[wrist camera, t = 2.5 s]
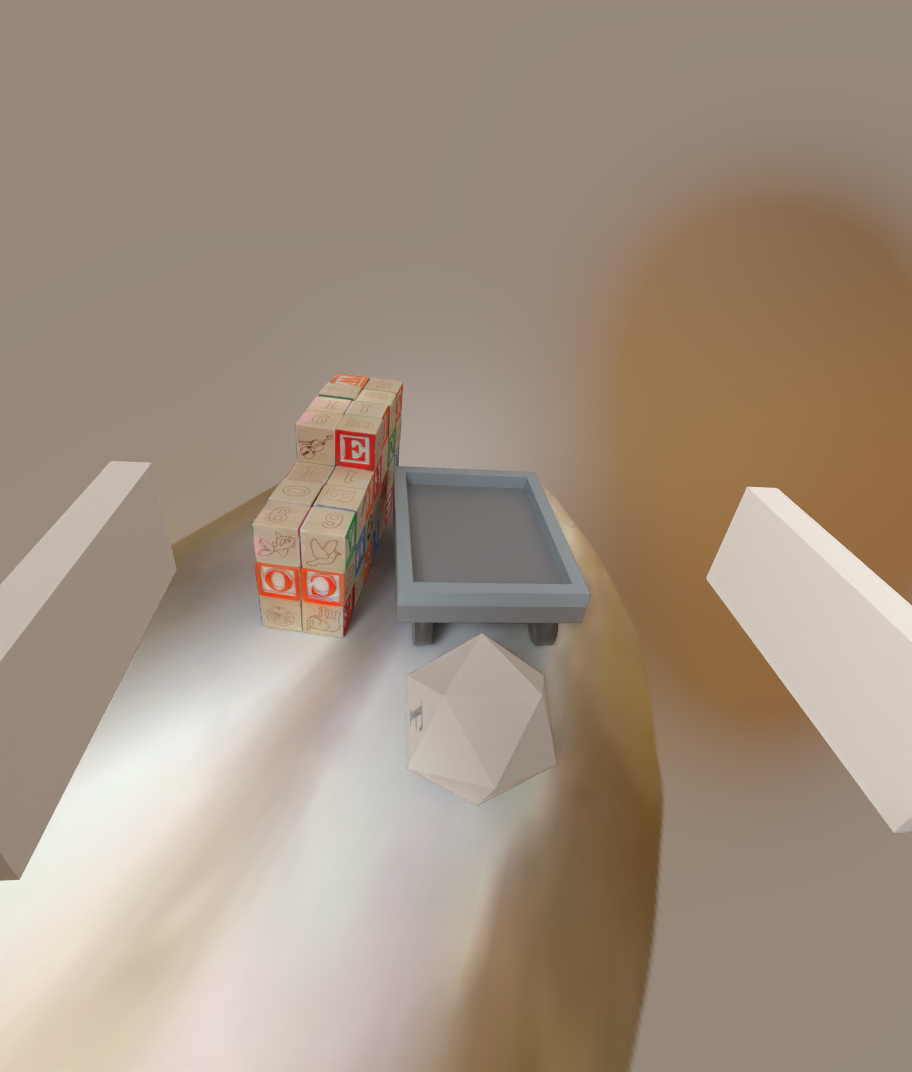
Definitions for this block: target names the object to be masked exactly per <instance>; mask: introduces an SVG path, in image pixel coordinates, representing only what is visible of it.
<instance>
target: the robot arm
mask: <svg viewBox="0 0 912 1072" xmlns="http://www.w3.org/2000/svg"><path fill="white" fill-rule="evenodd" d="M176 571H177V569H176V565H175V560H174V556H173V552H172V547H171V543H170V539H169V535H168V530H167V526H166V522H165V518H164V514H163V510H162V505H161V501H160V496H159V492H158V488H157V484H156V479H155V475H154V471H153V467H152V463H144V462H119V461H111V462H110V463H109V464H108V465H107V466H106V467H105V468H104V470H103V471H102V472H101V473H100V474H99V475H98V476H97V478H95V480H94V481H93V482H92V483H91V484H90V485H89V486H88V488H87V489H86V490H85V491H84V492H83V493H82V494H81V495H80V496H79V497H78V499H77V500H76V501H75V502H74V503H73V504H72V505H71V506H70V507H69V509H68V510H67V511H66V512H65V513H64V514H63V515H62V516H61V517H60V519H59V520H58V521H57V522H56V523H55V524H54V525H53V526H52V528H51V529H50V530H49V531H48V532H47V533H46V534H45V535H44V536H43V538H42V539H41V540H40V541H39V542H38V543H37V544H36V545H35V547H34V548H33V549H32V550H31V551H30V552H29V553H28V554H27V555H26V556H25V558H24V559H23V560H22V561H21V562H20V563H19V564H18V565H17V567H16V568H15V569H14V570H13V571H12V572H11V573H10V574H9V576H8V577H7V578H6V579H5V580H4V581H3V582H2V583H1V584H0V881H3V880H20V878H21V876H22V874H23V872H24V870H25V868H26V866H27V864H28V862H29V860H30V858H31V856H32V854H33V852H34V850H35V848H36V846H37V844H38V842H39V840H40V838H41V836H42V834H43V832H44V831H45V829H46V827H47V825H48V823H49V821H50V819H51V817H52V815H53V813H54V811H55V809H56V807H57V805H58V803H59V801H60V799H61V797H62V795H63V793H64V791H65V789H66V787H67V785H68V783H69V781H70V779H71V777H72V775H73V773H74V771H75V769H76V768H77V766H78V764H79V762H80V760H81V758H82V756H83V754H84V752H85V750H86V748H87V746H88V744H89V742H90V740H91V738H92V736H93V734H94V732H95V730H96V728H97V726H98V724H99V722H100V720H101V718H102V716H103V714H104V712H105V710H106V708H107V706H108V704H109V703H110V701H111V699H112V697H113V695H114V693H115V691H116V689H117V687H118V685H119V683H120V681H121V679H122V677H123V675H124V673H125V671H126V669H127V667H128V665H129V663H130V661H131V659H132V657H133V655H134V653H135V651H136V649H137V647H138V645H139V643H140V641H141V640H142V638H143V636H144V634H145V632H146V630H147V628H148V626H149V624H150V622H151V620H152V618H153V616H154V614H155V612H156V610H157V608H158V606H159V604H160V602H161V600H162V598H163V596H164V594H165V592H166V590H167V588H168V586H169V584H170V582H171V580H172V578H173V577H174V575H175V573H176ZM706 579H707V580H708V582H709V583H710V584H711V586H712V587H713V589H714V590H715V591H716V593H717V594H718V595H719V597H720V598H721V599H722V601H723V602H724V603H725V605H726V606H727V607H728V609H729V610H730V612H731V613H732V614H733V615H734V617H735V618H736V620H737V621H738V622H739V624H740V625H741V626H742V628H743V629H744V631H745V632H746V633H747V635H748V636H749V637H750V639H751V640H752V641H753V643H754V644H755V645H756V647H757V648H758V649H759V651H760V652H761V654H762V655H763V656H764V658H765V659H766V660H767V662H768V663H769V664H770V666H771V667H772V668H773V670H774V671H775V673H776V674H777V675H778V677H779V678H780V679H781V681H782V682H783V683H784V685H785V686H786V687H787V689H788V690H789V691H790V693H791V694H792V695H793V697H794V698H795V700H796V701H797V702H798V704H799V705H800V706H801V708H802V709H803V710H804V712H805V713H806V715H807V716H808V717H809V719H810V720H811V721H812V723H813V724H814V725H815V727H816V728H817V729H818V731H819V732H820V733H821V735H822V736H823V738H824V739H825V740H826V742H827V743H828V744H829V746H830V747H831V748H832V750H833V751H834V752H835V754H836V755H837V756H838V758H839V759H840V760H841V762H842V763H843V765H844V766H845V767H846V769H847V770H848V771H849V773H850V774H851V775H852V777H853V778H854V780H855V781H856V782H857V784H858V785H859V786H860V788H861V789H862V790H863V792H864V793H865V794H866V796H867V797H868V799H869V800H870V801H871V803H872V804H873V805H874V806H875V808H876V809H877V811H878V812H879V813H880V815H881V816H882V817H883V819H884V820H885V822H886V823H887V824H888V826H889V827H890V828H891V830H892V831H893V832H894V833H900V832H912V605H910V604H909V603H908V602H907V601H906V600H904V599H903V598H902V597H901V596H900V595H899V594H898V593H897V592H895V591H894V590H893V589H892V588H891V587H890V586H889V585H887V584H886V583H885V582H884V581H883V580H882V579H880V578H879V577H878V576H877V575H876V574H875V573H874V572H873V571H871V570H870V569H869V568H868V567H867V566H866V565H864V564H863V563H862V562H861V561H860V560H859V559H858V558H856V557H855V556H854V555H853V554H852V553H851V552H850V551H848V550H847V549H846V548H845V547H844V546H843V545H842V544H840V543H839V542H838V541H837V540H836V539H835V538H834V537H832V536H831V535H830V534H829V533H828V532H827V531H826V530H824V529H823V528H822V527H821V526H820V525H819V524H818V523H816V522H815V521H814V520H813V519H812V518H811V517H809V516H808V515H807V514H806V513H805V512H804V511H802V509H800V508H799V507H798V506H797V505H796V504H794V503H793V502H792V501H791V500H790V499H789V498H788V497H787V496H785V495H784V494H783V493H782V492H781V491H780V490H779V489H777V488H760V487H747V489H746V491H745V493H744V495H743V498H742V500H741V502H740V504H739V507H738V509H737V511H736V513H735V516H734V518H733V520H732V522H731V524H730V526H729V529H728V531H727V533H726V535H725V538H724V540H723V542H722V544H721V546H720V549H719V551H718V553H717V555H716V558H715V560H714V562H713V564H712V567H711V569H710V571H709V573H708V575H707V578H706Z"/></svg>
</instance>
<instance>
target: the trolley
mask: <svg viewBox="0 0 912 1072" xmlns="http://www.w3.org/2000/svg"><path fill="white" fill-rule="evenodd" d="M393 519H394V554H395V589H396V622H412V633H413V644H414V645H431V644H432V638H433V622H436V623H528V627H529V634H530V638H531V641H532V643H533V644H534V645H552V644H553V643H554V642H555V640H556V636H557V631H558V623H581V622H582V619H583V616H584V613H585V610H586V607H587V604H588V601H589V597H590V592H589V589H588V587H587V585H586V583H585V581H584V578H583V576H582V574H581V572H580V570H579V568H578V565H577V563H576V561H575V559H574V557H573V554H572V552H571V550H570V548H569V546H568V544H567V541H566V539H565V537H564V535H563V533H562V530H561V528H560V526H559V524H558V522H557V519H556V517H555V515H554V513H553V511H552V509H551V506H550V504H549V502H548V500H547V498H546V495H545V493H544V491H543V489H542V487H541V485H540V482H539V480H538V478H537V476H536V474H535V472H513V471H491V470H490V471H489V470H469V469H468V470H467V469H445V468H423V467H401V466H394V476H393Z"/></svg>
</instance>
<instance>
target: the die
mask: <svg viewBox="0 0 912 1072" xmlns="http://www.w3.org/2000/svg"><path fill="white" fill-rule="evenodd" d="M554 765H556V757H555V750H554V744H553V737H552V730H551V723H550V716H549V709H548V702H547V695H546V688H545V681H544V675H543V674H541V673H540V672H538V671H537V670H536V669H534V668H533V667H531V666H530V665H528V664H527V663H525V662H524V661H522V660H521V659H519V658H518V657H517V656H515V655H514V654H512V653H511V652H509V651H508V650H506V649H505V648H503V647H502V646H500V645H499V644H497V643H496V642H495V641H493V640H492V639H490V638H489V637H487V636H486V635H484V634H483V633H481V634H479V635H477V636H475V637H474V638H472V639H470V640H468V641H467V642H465V643H463V644H461V645H459V646H458V647H456V648H454V649H452V650H451V651H449V652H447V653H445V654H444V655H442V656H440V657H438V658H437V659H435V660H433V661H431V662H429V663H428V664H426V665H424V666H422V667H421V668H419V669H417V670H415V671H414V672H412V673H410V674H408V675H407V769H409V770H411V771H413V772H415V773H417V774H419V775H421V776H422V777H424V778H426V779H428V780H430V781H432V782H434V783H436V784H437V785H439V786H441V787H443V788H445V789H447V790H449V791H451V792H453V793H454V794H456V795H458V796H460V797H462V798H464V799H466V800H468V801H469V802H471V803H473V804H475V805H477V806H478V805H480V804H482V803H484V802H486V801H487V800H489V799H491V798H493V797H495V796H497V795H499V794H501V793H503V792H505V791H507V790H509V789H510V788H512V787H514V786H516V785H518V784H520V783H522V782H524V781H526V780H528V779H530V778H531V777H533V776H535V775H537V774H539V773H541V772H543V771H545V770H547V769H549V768H551V767H553V766H554Z"/></svg>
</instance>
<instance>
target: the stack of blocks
mask: <svg viewBox="0 0 912 1072" xmlns="http://www.w3.org/2000/svg"><path fill="white" fill-rule="evenodd" d="M402 392H403V382H399V381H392V380H385V379H379V378H371V379H369V378H368V377H362V376H354V375H346V374H336V375H335V377H334V378H333V379H332V380H331V381H330V383H327V384H326V385H325V386H324V388H323V389H322V390H321V391H320V393H319V396H317V397H315V399H314V400H313V401H312V403H311V404H310V405H309V406H308V408H307V410H306V411H305V412H304V414H303V415H302V416H301V418H300V419H299V420H298V421H297V423H296V424H295V426H296V450H297V462H296V463H295V464H294V466H293V467H292V469H291V470H290V472H289V473H288V474H287V476H286V477H285V479H283V480H282V481H281V482H280V484H279V485H278V486H277V488H276V489H275V490H274V492H273V493H272V495H271V496H270V497H269V499H268V502H267V503H266V505H265V506H264V507H263V509H262V510H261V512H260V513H259V514H258V516H257V517H256V518H255V520H254V521H253V523H252V530H253V539H254V547H255V556H256V561H255V572H256V581H257V588H258V593H259V602H260V610H261V617H262V625H263V626H266V627H272V628H278V629H285V630H293V631H300V632H305V633H311V634H318V635H325V636H333V637H344V635H345V632H346V629H347V626H348V623H349V621H350V618H351V615H352V612H353V609H355V607H356V604H357V602H358V599H359V596H360V593H361V591H362V588H363V585H364V583H365V580H366V578H367V575H368V572H369V570H370V567H371V562H372V559H373V556H374V554H375V551H376V548H377V546H378V542H379V540H380V537H381V534H382V531H383V529H384V526H385V525H386V523H387V520H388V517H389V515H390V512H391V510H392V508H393V476H394V466H398V462H399V461H398V460H399V443H400V433H401V409H402Z"/></svg>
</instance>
